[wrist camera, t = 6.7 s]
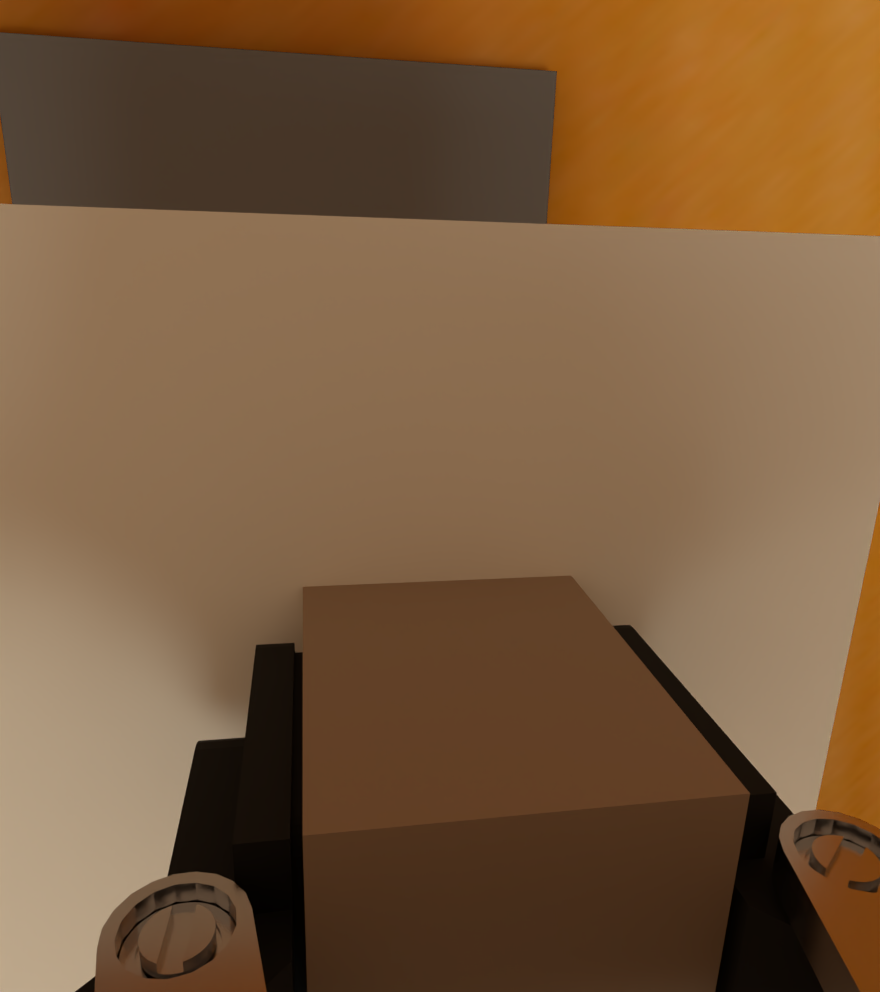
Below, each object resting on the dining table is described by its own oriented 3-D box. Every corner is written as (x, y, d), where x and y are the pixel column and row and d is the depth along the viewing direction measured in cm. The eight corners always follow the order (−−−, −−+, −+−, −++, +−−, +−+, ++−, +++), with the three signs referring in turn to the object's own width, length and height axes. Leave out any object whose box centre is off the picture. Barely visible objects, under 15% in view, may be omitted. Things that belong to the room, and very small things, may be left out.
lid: (884, 239, 12) (1399, 229, 6) (750, 944, 16) (990, 1316, 11) (-114, 202, 10) (-695, 139, 4) (31, 1038, 14) (-156, 1579, 8)
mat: (550, 75, 24) (556, 71, 24) (519, 549, 29) (524, 555, 29) (-3, 37, 22) (-11, 31, 21) (66, 568, 26) (62, 575, 26)
